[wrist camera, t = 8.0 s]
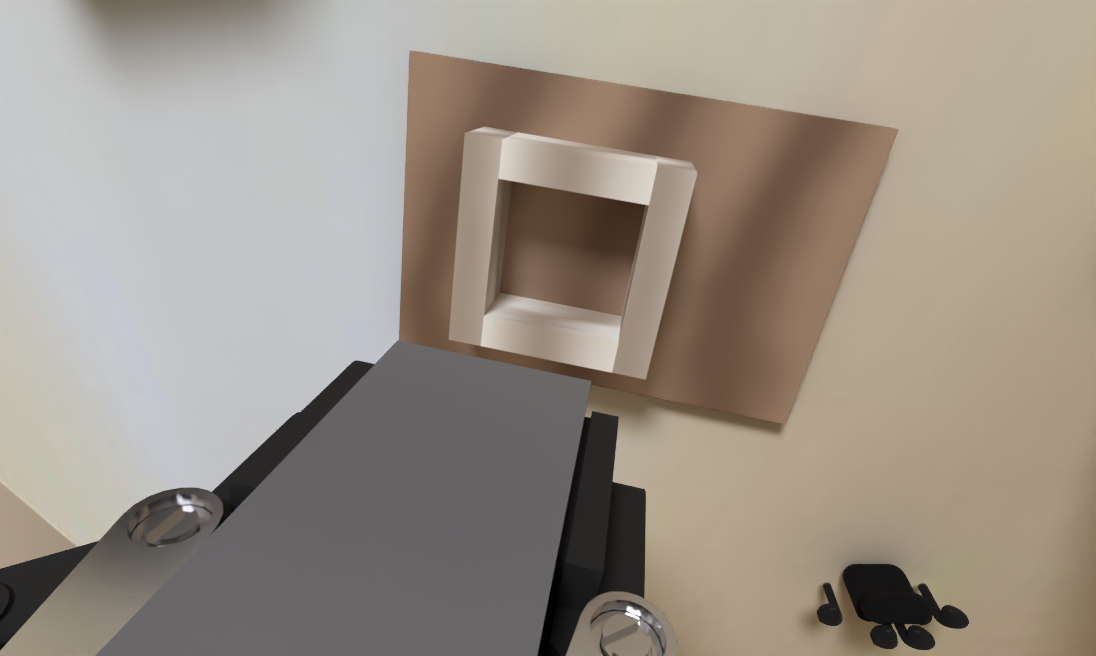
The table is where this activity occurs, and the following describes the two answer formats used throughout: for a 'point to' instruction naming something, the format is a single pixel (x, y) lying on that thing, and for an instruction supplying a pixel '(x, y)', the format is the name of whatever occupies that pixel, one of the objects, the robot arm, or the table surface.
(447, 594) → the charger brick
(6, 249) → the table surface
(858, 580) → the wireless earbuds
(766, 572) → the table surface
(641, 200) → the board
